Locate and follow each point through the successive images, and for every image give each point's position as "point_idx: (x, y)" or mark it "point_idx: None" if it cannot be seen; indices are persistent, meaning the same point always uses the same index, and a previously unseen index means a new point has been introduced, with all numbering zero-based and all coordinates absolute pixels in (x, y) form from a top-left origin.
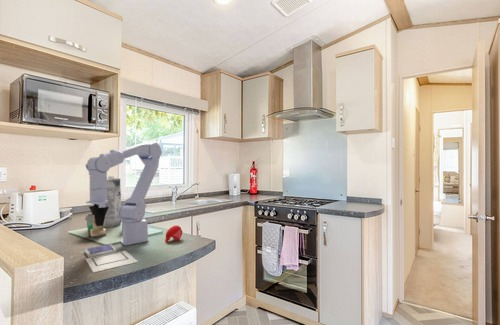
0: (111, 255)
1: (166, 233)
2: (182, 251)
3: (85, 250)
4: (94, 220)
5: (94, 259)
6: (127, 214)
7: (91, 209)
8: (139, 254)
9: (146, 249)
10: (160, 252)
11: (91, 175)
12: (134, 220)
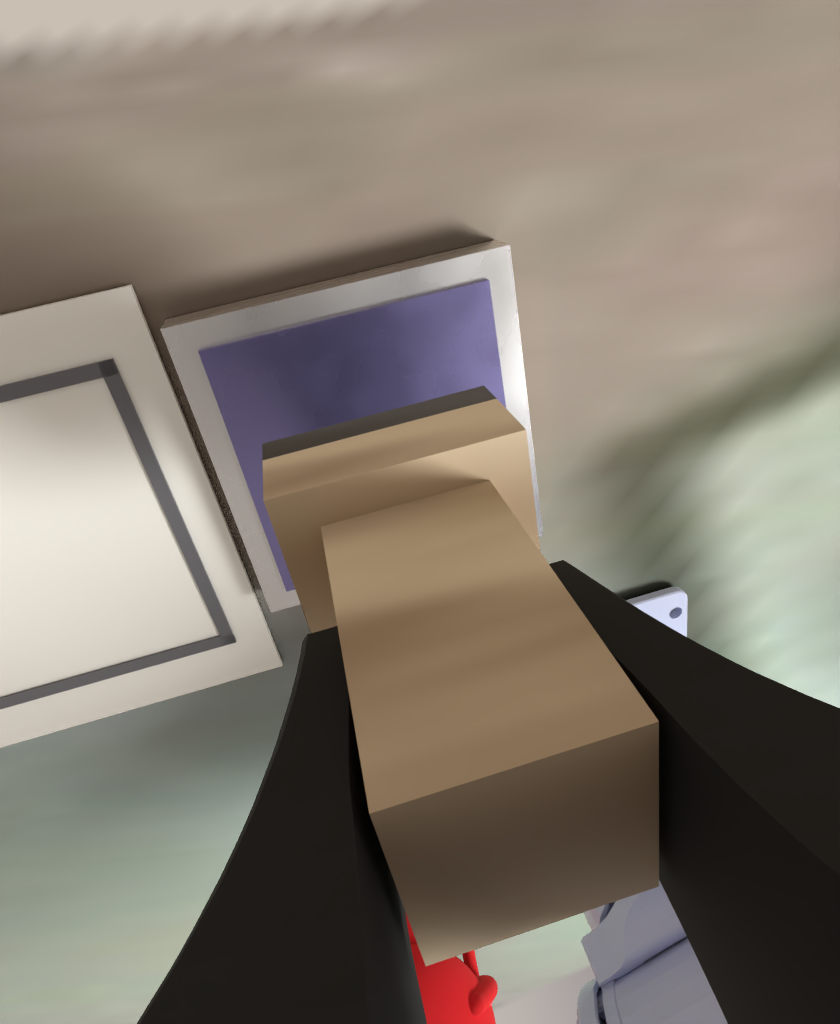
0: (143, 563)
1: (420, 988)
2: (44, 1018)
3: (452, 257)
4: (352, 691)
5: (45, 401)
6: (716, 1015)
7: (820, 888)
8: (91, 781)
9: (241, 810)
10: (83, 907)
11: None
12: (597, 971)
